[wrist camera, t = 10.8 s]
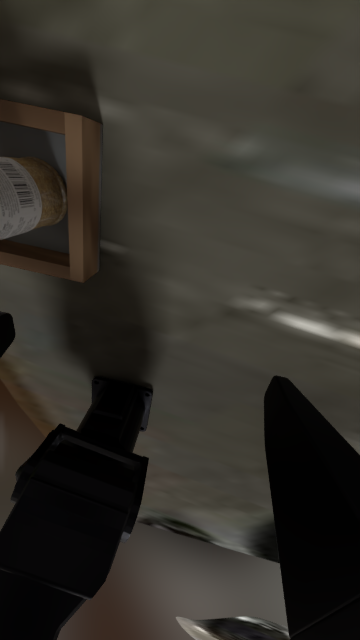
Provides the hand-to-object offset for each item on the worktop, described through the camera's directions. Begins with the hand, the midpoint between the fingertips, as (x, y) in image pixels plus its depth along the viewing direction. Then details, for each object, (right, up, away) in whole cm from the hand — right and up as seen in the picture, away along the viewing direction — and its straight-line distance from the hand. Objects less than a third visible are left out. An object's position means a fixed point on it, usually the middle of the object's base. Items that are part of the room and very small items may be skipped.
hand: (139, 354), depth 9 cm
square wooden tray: (-9, +11, +11) cm, 18 cm away
